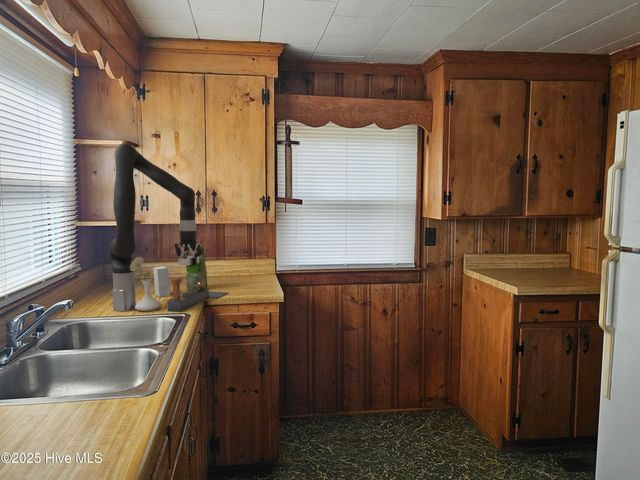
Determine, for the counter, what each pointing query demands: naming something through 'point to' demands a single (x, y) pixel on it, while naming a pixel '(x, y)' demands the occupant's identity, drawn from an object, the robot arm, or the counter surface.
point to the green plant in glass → (196, 272)
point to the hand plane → (186, 296)
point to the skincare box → (161, 281)
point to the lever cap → (186, 260)
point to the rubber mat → (217, 294)
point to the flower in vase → (147, 300)
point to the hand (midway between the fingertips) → (189, 265)
